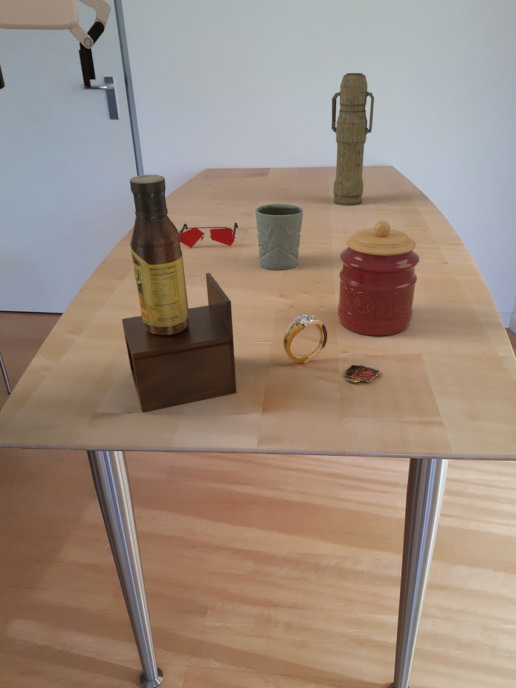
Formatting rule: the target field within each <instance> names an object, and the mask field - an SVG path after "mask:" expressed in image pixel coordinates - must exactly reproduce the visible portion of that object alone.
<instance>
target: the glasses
mask: <svg viewBox="0 0 516 688" xmlns="http://www.w3.org/2000/svg"><path fill="white" fill-rule="evenodd" d="M233 225H234V226H233V229H232V227H227V226H202V227H196V226H194V227H189V226H188V224H187V223H184V224H183V226H182V228H181V229H180V230H179V231H178V233H179V236H180V244H183V245H185V246H186V247H188V248H191V249H192V248H193V247H194V246H195V245H196V244H197V242H198V241H203V239H204V237H205V232H204V231H202V230H200V229H209V234H210V235H209V238H210V239H211V241H214V242H216V243H220V244H223V245H227V246H229V247H231V246H232V245H233V243H234V242H235V239H236V231H237V229H239V225H238V222H234V224H233Z"/></svg>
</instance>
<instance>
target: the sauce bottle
mask: <svg viewBox="0 0 516 688" xmlns="http://www.w3.org/2000/svg"><path fill="white" fill-rule="evenodd" d="M129 184H130V185H129V186H130V191H131V193H132V196H133V202H134V208H135V209H134V210H135V211H134V215H135V220H134V224H133V230H132V235H131V239H130V245H129V247H130V252H131V259H132V264H133V265H132V266H133V271H134V277H135V281H136V282H135V283H136V290H137V295H138V301H139V308H140V315H141V316H142V320H143V321H144V324H145V328H146V330H147V331H148V332H149V333H151V334H156V335H173V334H178V333H181V332H182V331H183V330H184V329H185V328H186V327H187V326H188V325H189V319H188V314H189V311H188V309H189V302H188V293H187V284H186V276H185V275H186V274H185V265H184V256H183V250H182V247H181V242H180V236H179V230H178V228H177V227H176V225H175V224H174V222H173V221H172V220H171V219H170V217H169V215H168V214H169V213H168V212H169V210H168V207H167V201H166V178H165V177H164V176H163V175H159V174H141V175H136V176H133V177H130V179H129Z"/></svg>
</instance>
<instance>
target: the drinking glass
mask: <svg viewBox="0 0 516 688" xmlns="http://www.w3.org/2000/svg"><path fill="white" fill-rule="evenodd" d="M303 216H304V210H303V208H302V207H300V206H297V205H294V204H287V203H286V204H285V203H271V204H264V205H260V206H258V207H256V208H255V220H256V229H257V233H258V234H257V242H258V243H257V245H258V247H259V250H258V256H259V257H258V258H259V265H260V266H261V267H262V268H264V269H266V270H271V271H286V270H291V269H294V268H295V267H297V265H299V264H298V263H299V256H300V255H299V254H300V251H299V249H300V243H301V231H302V227H303Z"/></svg>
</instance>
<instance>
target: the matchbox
mask: <svg viewBox="0 0 516 688" xmlns="http://www.w3.org/2000/svg"><path fill="white" fill-rule="evenodd" d="M382 375H383V371H381V370H380V369H378V368H377V369H376V368H374V367H369V366H368V367H367V366H365V365H361V364H360V365H358V364H351V365H350V366H349V367H348V368H347V369H346V371H345V375H344V376H347V381H348V382H350V383H354V384H358V383H357V382H358V381H359V382H367V383H370V382H372V381H373V380H374V379H375V378H376V377H380V376H382ZM355 381H357V382H355Z"/></svg>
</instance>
